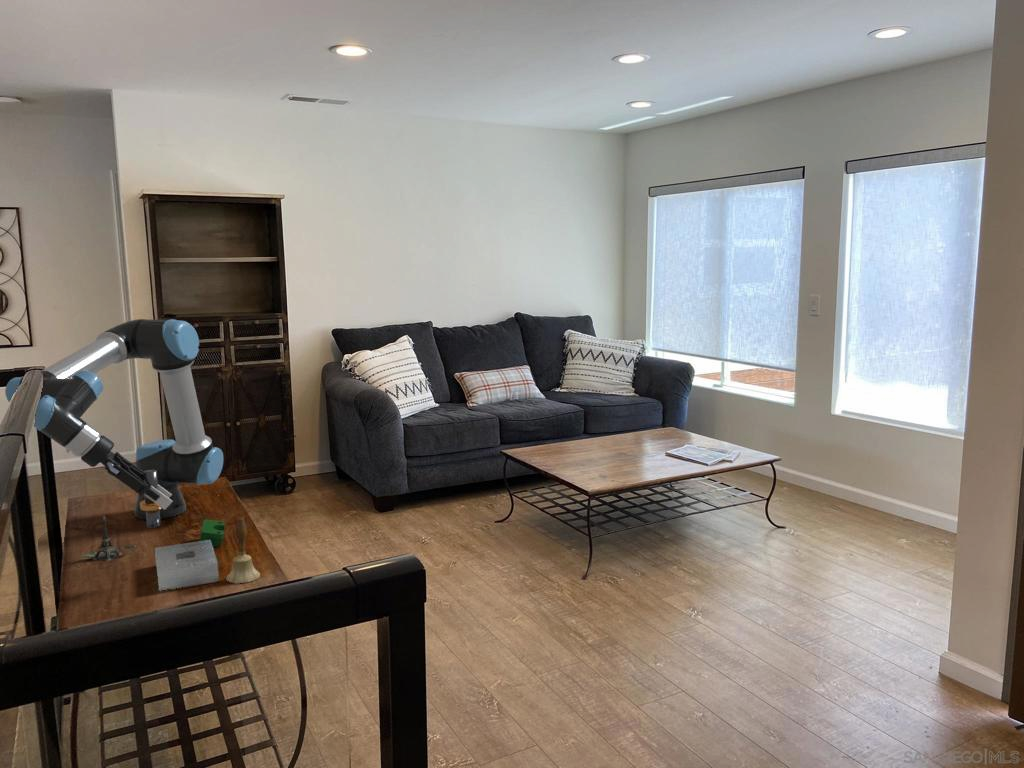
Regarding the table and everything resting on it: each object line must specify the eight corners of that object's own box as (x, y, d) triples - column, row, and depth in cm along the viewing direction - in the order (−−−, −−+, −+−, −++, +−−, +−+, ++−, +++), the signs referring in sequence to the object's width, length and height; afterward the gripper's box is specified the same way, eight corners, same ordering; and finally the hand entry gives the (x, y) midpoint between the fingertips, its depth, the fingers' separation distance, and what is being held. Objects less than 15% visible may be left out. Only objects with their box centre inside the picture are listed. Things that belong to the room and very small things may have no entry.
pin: (141, 523, 200) (137, 469, 198) (165, 520, 203) (161, 467, 200) (141, 530, 195) (137, 475, 193) (165, 527, 198) (162, 473, 195)
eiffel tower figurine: (136, 546, 224) (133, 502, 222) (139, 558, 215) (135, 512, 213) (77, 556, 217) (72, 510, 214) (77, 569, 208) (73, 521, 206)
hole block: (156, 565, 209) (154, 547, 208) (211, 556, 215) (210, 539, 215) (159, 591, 193) (157, 572, 193) (218, 581, 200) (217, 562, 199)
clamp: (217, 562, 223) (223, 539, 219) (195, 560, 221) (200, 536, 216) (222, 533, 233) (227, 510, 228) (201, 530, 230) (206, 507, 226)
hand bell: (231, 571, 206) (227, 513, 203) (263, 570, 207) (260, 512, 204) (222, 584, 198) (218, 524, 195) (255, 583, 198) (252, 523, 196)
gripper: (81, 448, 197) (157, 502, 207) (76, 467, 181) (158, 524, 191) (103, 426, 199) (177, 481, 208) (99, 442, 183) (180, 501, 192)
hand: (168, 501), depth 200 cm, fingers closed on pin, 5 cm apart
